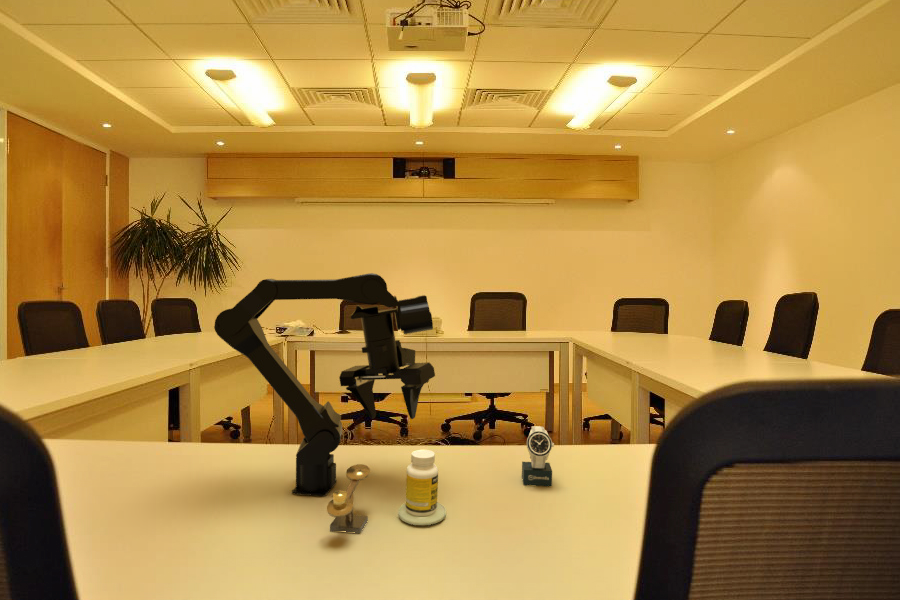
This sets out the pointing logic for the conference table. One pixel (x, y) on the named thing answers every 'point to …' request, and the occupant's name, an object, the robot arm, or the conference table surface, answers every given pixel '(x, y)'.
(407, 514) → the dish
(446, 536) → the conference table surface
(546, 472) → the watch
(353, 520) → the balance
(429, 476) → the supplement bottle
